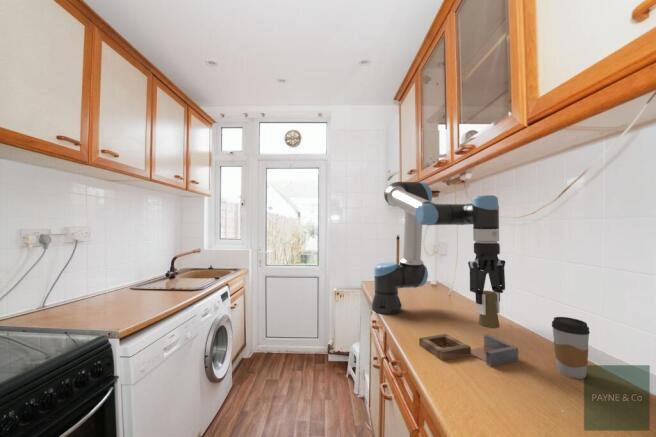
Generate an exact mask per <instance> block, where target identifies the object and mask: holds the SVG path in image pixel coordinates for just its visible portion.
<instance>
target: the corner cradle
mask: <svg viewBox="0 0 656 437" xmlns="http://www.w3.org/2000/svg"><path fill="white" fill-rule="evenodd" d="M483 345H484V346H482V347H477V348H473V349H471V356H474V357H476V358H477V359H479V360H481V361H482V362H485V364H486V365H487V366H488V367H490V368H492V367H496V366H501V365H505V364H510V363H514V362H515V363H516V362H519V361H520V358H519V347H516V346H515V345H512V344H510V343H508V342H506V341H503V340H501V339H499V338H497V337H494V336H492V335H489V334H484V335H483Z"/></svg>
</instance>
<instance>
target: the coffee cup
mask: <svg viewBox="0 0 656 437" xmlns="http://www.w3.org/2000/svg"><path fill="white" fill-rule="evenodd" d="M551 327H552V333H553V347H554V357H555V361H556V369H557V370H558V372H559V373H560V374H562V375H563V376H565V377H568V378H571V379H577V380H583V378H584V379H585V377H587V370H588V369H587V368H588V362H589V361H588V360H589V338H590V337H589V336H590V327H589V326H588V324H587V322H586V321H583V320H581V319H577V318H572V317H568V316H566V317H565V316H554V317H553V320H552V322H551Z"/></svg>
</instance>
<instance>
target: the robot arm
mask: <svg viewBox="0 0 656 437" xmlns="http://www.w3.org/2000/svg"><path fill="white" fill-rule="evenodd" d="M432 192H433V191H432V188H431V187H430V186H429V184H427V183H426V182H421V181H395V182H392V183H391V184H388V185H387V187H386V188H385V190H384V194H383V197H384V200H385V202H386V203H387V204H388V205H391V206H392V207H398V208H400V209H402V210H403V211H404V234H403V253H402V254H403V255H402V258H401V259H400V260H399V264H398V263H397V262H394V261H387V262H380V263H378V264H376V265H375V266H374V273H373V277H374V295H373V298H372V302H371V308H370V309H371V311H373V312H374V313H378V314H383V315H394V314H400V313H402V311H403V306H402V302H401V300H400V297H399V289H408V288H414V289H415V288H421V287H423V286H424V285H426V283H427V281H428V279H429V272H428V268H427V266H426V265H425V264H424V261H423V260H422V242H423V241H422V239H423V238H422V237H423V226H429V227H430V226H443V225H444V226H446V225H447V226H456V225H457V226H463V225H465V226H466V225H472V226H473V227H472V229H473V232H472V234H473V241H474V243H473V253H474V254H475V258H474V260H473V261H468V263H467V264H468V268H469V291H470V292H472V293H474V294H475V303H476V313H477V314H482V315H486V302H485V294H483V291H485V290H484V289H485V284H486V278H487V275H488V277H489V278H488V279H489V282H490V287H491V291H492V292H495V293H496V295H497V301H496V302H495V303H496V309H497V314H500V312H501V311H500V309H501V307H500V303H501V294H503V293H504V291H505V290H506V276H505V274H506V272H505V266H506V260H501V259H499V256H498V255H500V254H501V244H500V212H499V211H500V207H499V206H500V205H499V198H498V196H496V195H490V194H489V195H488V194H487V195H486V194H485V195H477V196H473V197H472V202H471V203H463V204H461V203H444V204H443V203H434V202H432V200H433V193H432Z"/></svg>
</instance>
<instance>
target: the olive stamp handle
mask: <svg viewBox="0 0 656 437" xmlns="http://www.w3.org/2000/svg"><path fill="white" fill-rule="evenodd" d="M492 291H493V290H484V291H483V294H485V302H486V315H482V314H479V313H478V314H479V315H478V322H477V323H478V325H479V326H481V327H483V328H488V329H499V328H500V320H499V316H498V314H499V313H497V309H496V303H495V302H496V301H497V295H496V293H495V292H494V291H493V292H492Z"/></svg>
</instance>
